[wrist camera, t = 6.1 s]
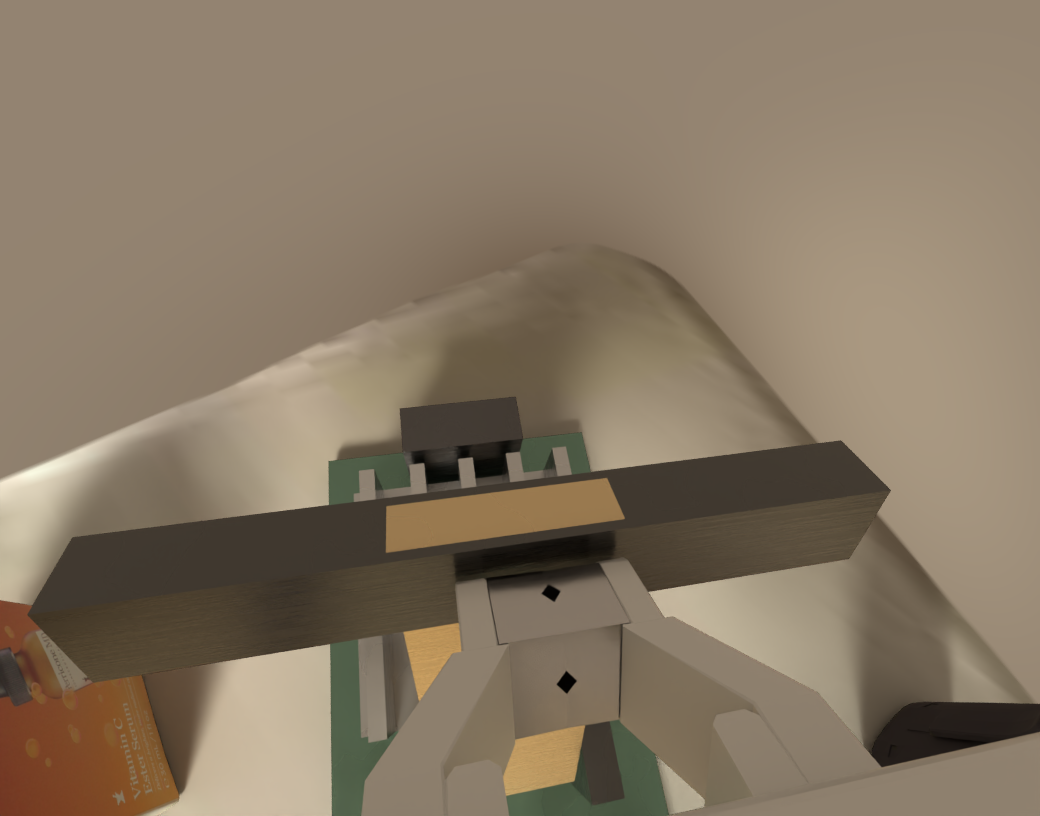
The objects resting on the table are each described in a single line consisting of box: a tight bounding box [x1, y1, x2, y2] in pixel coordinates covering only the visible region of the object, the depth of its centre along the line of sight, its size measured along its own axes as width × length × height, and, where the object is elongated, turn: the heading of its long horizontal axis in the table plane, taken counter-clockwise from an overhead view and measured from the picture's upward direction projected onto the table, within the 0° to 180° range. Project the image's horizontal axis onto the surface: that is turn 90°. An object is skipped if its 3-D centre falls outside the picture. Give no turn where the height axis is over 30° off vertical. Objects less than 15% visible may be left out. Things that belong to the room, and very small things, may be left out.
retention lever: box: [27, 441, 891, 796], centre depth 13 cm, size 1×14×12 cm, turn 99°
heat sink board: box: [329, 397, 669, 816], centre depth 21 cm, size 19×13×8 cm
